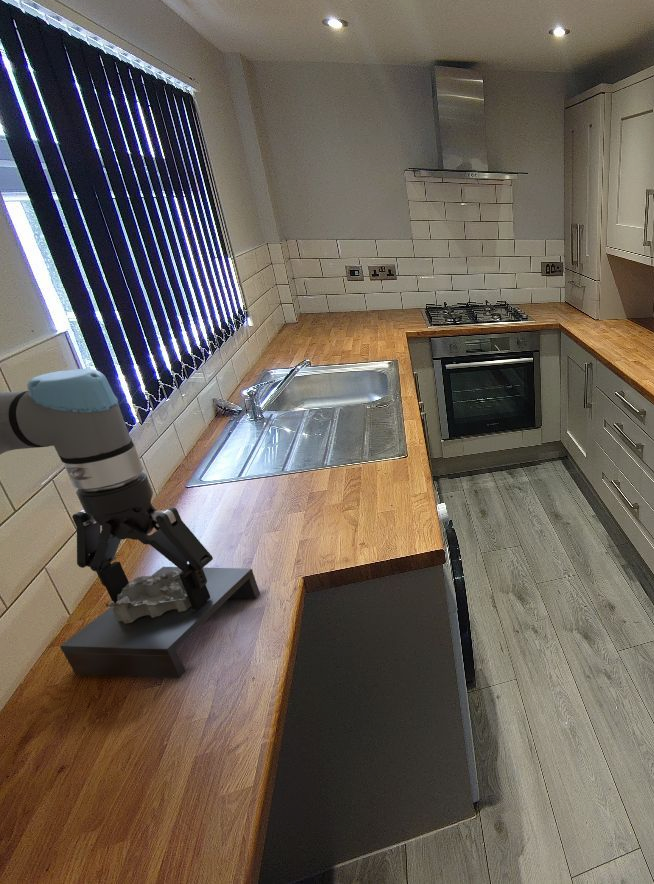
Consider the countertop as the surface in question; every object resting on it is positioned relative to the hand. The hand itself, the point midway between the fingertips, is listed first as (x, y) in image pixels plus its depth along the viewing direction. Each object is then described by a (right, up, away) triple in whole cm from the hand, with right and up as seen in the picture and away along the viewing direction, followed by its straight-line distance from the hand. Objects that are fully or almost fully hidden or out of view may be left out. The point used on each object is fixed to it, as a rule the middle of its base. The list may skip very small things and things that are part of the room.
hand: (163, 602), depth 82 cm
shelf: (0, -5, +2) cm, 6 cm away
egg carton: (0, 0, 0) cm, 0 cm away
